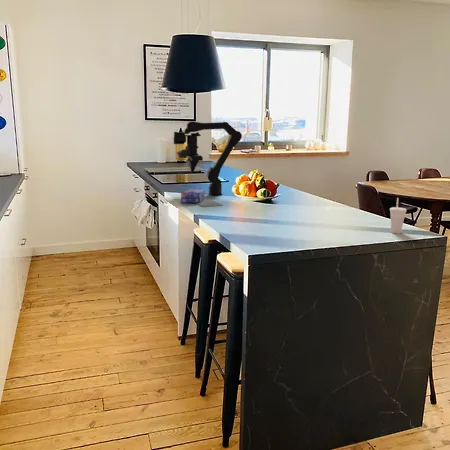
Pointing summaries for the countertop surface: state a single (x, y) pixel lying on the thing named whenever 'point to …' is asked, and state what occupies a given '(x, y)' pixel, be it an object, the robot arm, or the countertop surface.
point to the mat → (208, 203)
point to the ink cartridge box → (192, 196)
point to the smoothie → (397, 218)
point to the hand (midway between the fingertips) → (192, 172)
